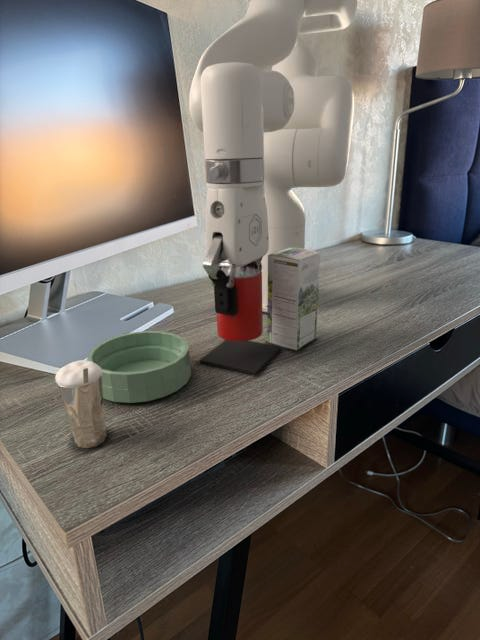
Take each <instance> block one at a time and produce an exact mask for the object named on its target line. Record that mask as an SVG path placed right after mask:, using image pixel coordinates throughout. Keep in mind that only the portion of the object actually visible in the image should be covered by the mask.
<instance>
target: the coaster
mask: <svg viewBox="0 0 480 640" xmlns="http://www.w3.org/2000/svg"><path fill="white" fill-rule="evenodd" d="M281 348H282V346H279V345H275V344H270V343H264V342H259V341H258V342H257V341H253V340H248V341H229V340H224V341H223V342H222V343H220V344H219V345H218V346H216V347H215V348H214V349H212V350H211V351H210V352H208V353H207V354H206V355H205V356H204V357H202V358H201V359H200V360H199V363H200V364H203V365H207V366H214V367H217V368H222V369H226V370H229V371H230V370H231V371H235V372H240V373H244V374H249V375H254V376H256V375H257V374H258V373H259V372H260V371H261V370H262V369H263V368H264V367H265V366H266V365H267V364H268V363H269V362H270V361H271V360H272V359H273V358H274V357H275V356H276V355H277V354H278V353H279V352H280V351H281Z"/></svg>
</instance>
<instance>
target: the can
mask: <svg viewBox="0 0 480 640" xmlns="http://www.w3.org/2000/svg"><path fill="white" fill-rule="evenodd" d="M221 270H223V271H224V273H225V274H226V276H227V274H228V269H227V268H222V269H221ZM233 286H236V287H237V311H238V312H237V314H236V315H235V316H232V315H225V314H219V313H216V327H217V329H216V331H217V335H218V337H219V338H220V339H223V340H224V341H226V340H229V341H253V340H255V339H258V338H259V337H261V336H262V335H263V332H264V329H263V327H264V325H263V324H264V322H263V320H264V319H263V312H262V272H261V270H259V269H257V268H254V267H249V266H243V267H237V268H236V274H235V280H234V285H233Z"/></svg>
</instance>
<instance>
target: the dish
mask: <svg viewBox="0 0 480 640" xmlns="http://www.w3.org/2000/svg"><path fill="white" fill-rule="evenodd" d="M86 361H91V362H94V363H96V364H97V365H98V366H99V367H100V368H101V370H102V383H103V399H104V400H107V401H110V402H113V403H126V404H135V403H144V402H151V401H154V400H159V399H162V398H164V397H167V396H170V395H171V394H173V393H175V392H177V391H179V390H181V389H182V388H183V387H184V386H185V385H187V384H188V382H189V380H190V378H191V376H192V366H191V355H190V345H189V341H188V340H186V338H184V337H183V336H181V335H179V334H176V333H174V332H168V331H163V330H162V331H161V330H144V331H133V332H129V333H125V334H120V335H117V336H116V335H115V336H114V337H111V338H108V339H106V340H104V341H102V342H100V343H98V344H97V345H95V346H94V347H93V348H92V349H91V350H89V352H88V355H87V357H86Z"/></svg>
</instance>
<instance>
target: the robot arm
mask: <svg viewBox="0 0 480 640" xmlns="http://www.w3.org/2000/svg"><path fill="white" fill-rule="evenodd" d="M357 8H358V0H250V1H249V4H248V6H247V10H246V13H245V16H244V17H243V18H241V19H239V20H238V21H237V22H236V23H234V24H233V25H231V26H230V27H228V29H227V30H225V32H223V33H222V34H221V35H219V36H218V37H217V38H216V39H214V40H213V42H211V43H210V44H209V45H208V47H206V49H205V50H204V51H203V53H202V54H201V57H200V59H199V61H198V63H197V66H196V69H195V72H194V76H193V77H192V81H191V85H190V90H189V97H188V107H189V115H190V118H191V121H192V122H193V124H194V126H195V127H196V128H197V129H198V130H199V131H200V132H202V134H203V135H202V136H203V151H204V170H205V172H204V173H205V187H206V189H207V190H206V202H205V245H206V246H205V247H206V255H205V258H204V260H203V262H202V268H203V270H204V271H205V272H206V274H207V276H208V279H210V281H211V286H212V287H213V294H214V295H213V296H214V312H215V313H216V314H217V313H219V314H225V315H232V316H235V315H236V314H237V312H238V311H237V287H236V286H233V285H234V280H235V274H236V268H237V267H243V266H249V267H254V268H257V269H259V270H261V272H262V313H267V314H268V255H270V254H273V253H276V252H279V251H281V250H284V249H287V248H302V249H306V246H305V245H306V212H305V211H306V210H305V208H304V205H303V203H302V202H301V200H300V199H299V198H298V197H297V195H296V193H294V191H293V190H292V189H297V188H331V187H335V186H337V185H339V184H341V183H342V182H343V180H344V179H345V177H346V174H347V171H348V167H349V159H350V150H351V141H352V132H353V125H354V124H353V122H354V114H355V94H354V88H353V85H352V83H351V82H350V80H349V79H347V78H346V77H345V76H342V75H333V74H332V75H320V76H319V75H318V76H317V74H318V68H319V67H318V61H317V59H316V57H315V55H314V54H313V52H312V51H311V50H310V48H309V47H308V46H307V45H306V44H305V43H304V42H303V41H302V40H301V39H299V36H300V35H306V34H307V35H308V34H317V33H325V32H334V31H341V30H344V29H345V30H346V28H348V27H349V26H350V25H351V24H352V23H353V21H354V19H355V16H356V13H357ZM270 68H271V70H270ZM225 261H228V262H225ZM222 268H227V269H228V274H227V276H226V274H225V273H224V271H223V270H221V269H222Z"/></svg>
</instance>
